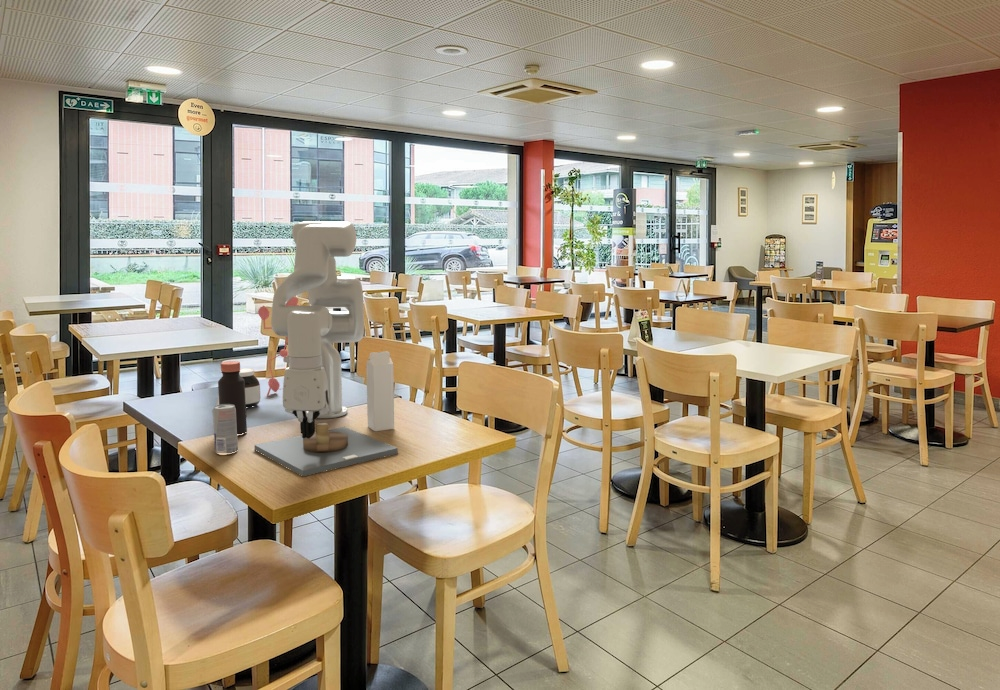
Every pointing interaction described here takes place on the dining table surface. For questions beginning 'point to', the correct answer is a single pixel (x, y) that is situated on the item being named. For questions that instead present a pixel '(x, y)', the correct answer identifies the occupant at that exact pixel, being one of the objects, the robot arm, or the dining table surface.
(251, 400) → the spread jar
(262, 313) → the pink flower figure
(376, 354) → the milk
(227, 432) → the energy drink
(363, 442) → the base plate
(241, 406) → the bottle
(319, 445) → the dial
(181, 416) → the dining table surface
